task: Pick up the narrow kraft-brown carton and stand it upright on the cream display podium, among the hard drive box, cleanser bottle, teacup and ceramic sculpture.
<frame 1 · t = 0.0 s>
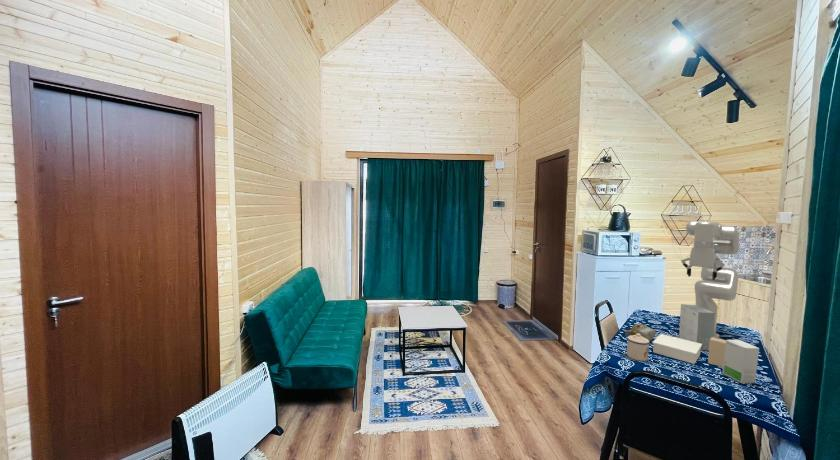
hand: (701, 277, 167), 37 cm above the table, fingers open, 9 cm apart
kraft carton: (717, 363, 149), on the table
skincare box: (739, 379, 136), on the table
display podium: (676, 353, 160), on the table
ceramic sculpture: (640, 337, 180), on the table
hard drive box: (694, 345, 171), on the table
teacup with lid: (637, 356, 156), on the table
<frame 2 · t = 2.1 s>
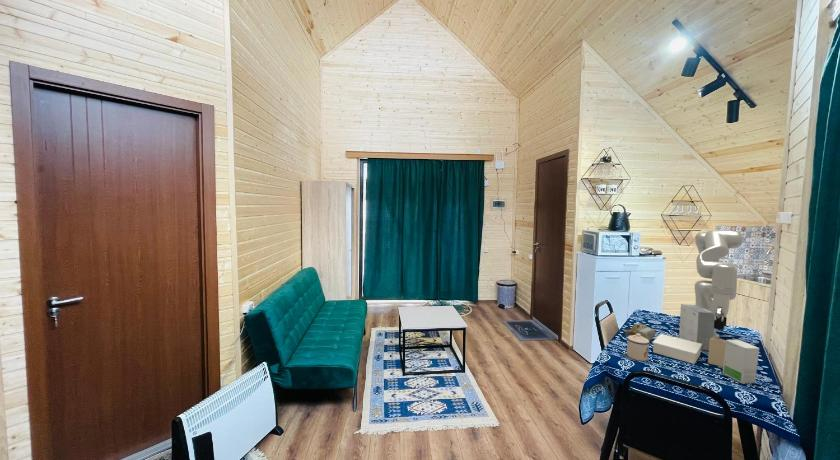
hand: (720, 327, 148), 18 cm above the table, fingers open, 9 cm apart
nothing on the table moved.
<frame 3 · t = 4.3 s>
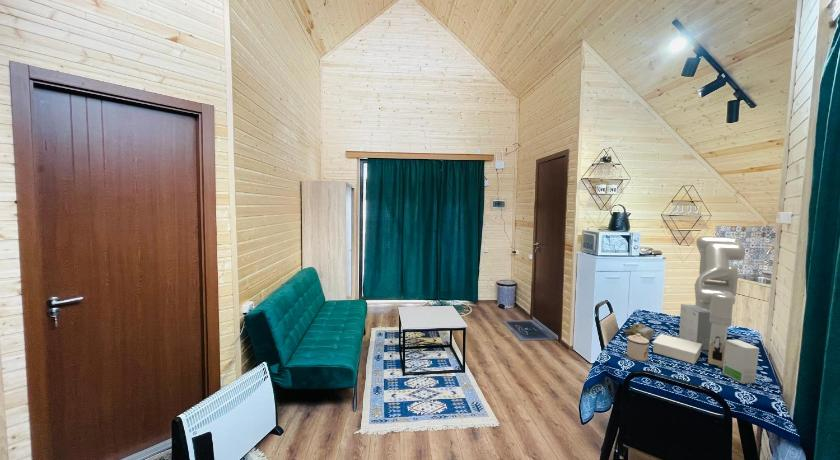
hand: (717, 357, 149), 3 cm above the table, fingers closed on kraft carton, 5 cm apart
kraft carton: (717, 363, 149), on the table, touching gripper
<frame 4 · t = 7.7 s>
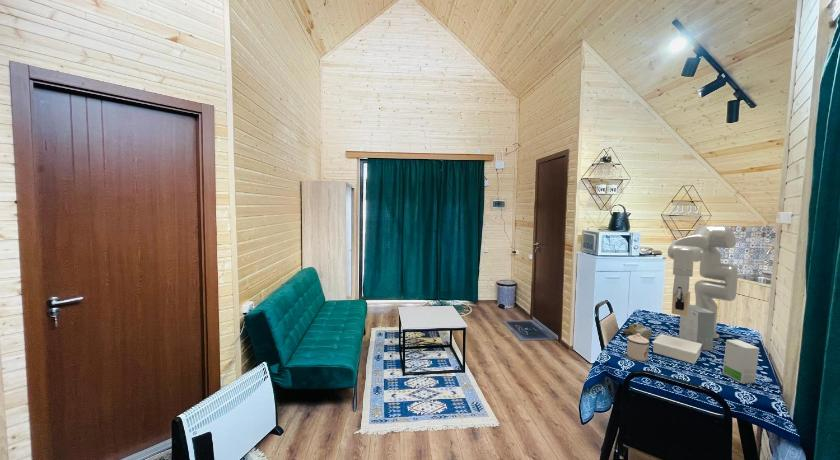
hand: (680, 308, 158), 23 cm above the table, fingers closed on kraft carton, 5 cm apart
kraft carton: (680, 313, 158), point 20 cm above the table, touching gripper
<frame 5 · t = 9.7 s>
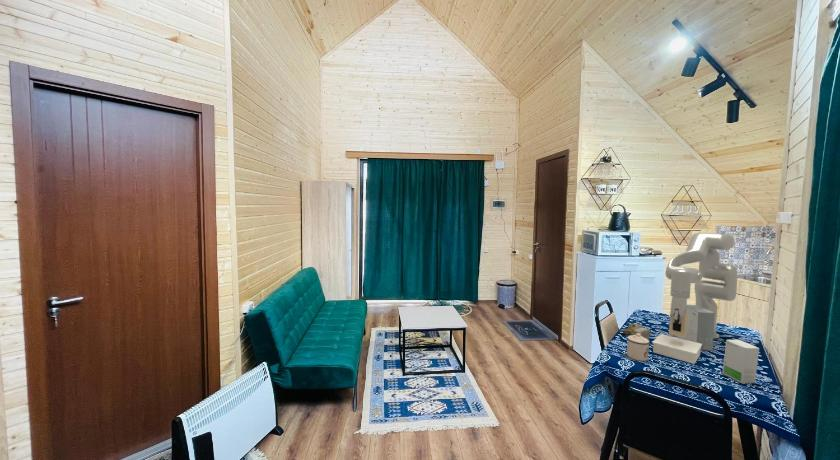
hand: (677, 329, 159), 12 cm above the table, fingers closed on kraft carton, 5 cm apart
kraft carton: (677, 334, 159), point 10 cm above the table, touching gripper
when the fingers open (9 cm above the table, at t = 11.2 s): kraft carton drops 1 cm, resting on display podium.
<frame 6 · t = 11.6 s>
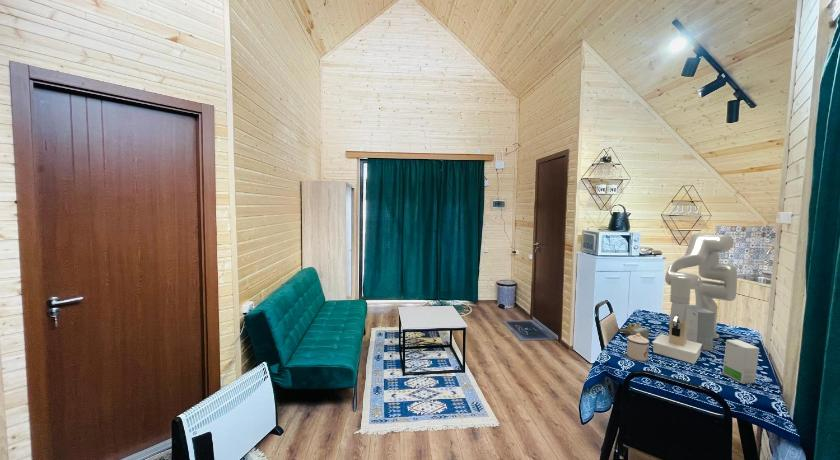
hand: (677, 333, 159), 10 cm above the table, fingers open, 9 cm apart
kraft carton: (677, 343, 159), point 5 cm above the table, touching display podium
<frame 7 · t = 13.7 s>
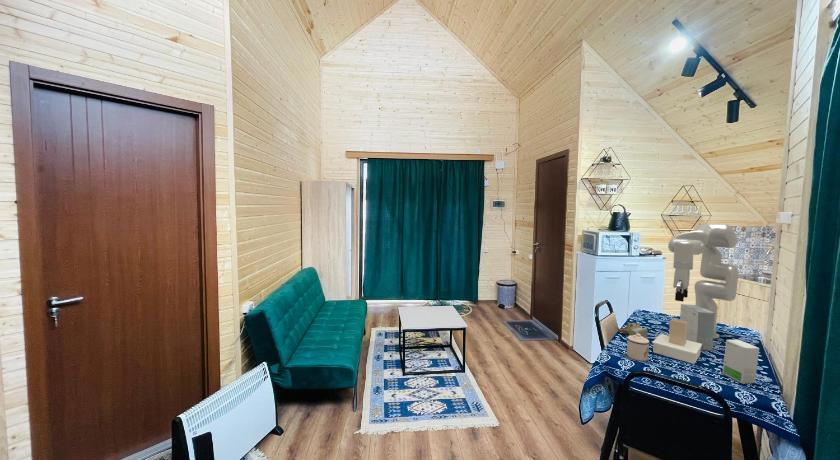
hand: (681, 298, 160), 27 cm above the table, fingers open, 9 cm apart
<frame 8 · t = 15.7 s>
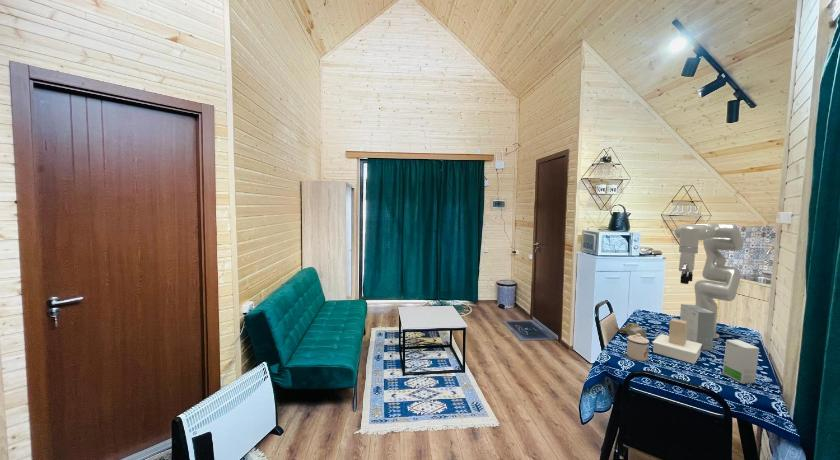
hand: (686, 282, 167), 34 cm above the table, fingers open, 9 cm apart
at the end: kraft carton inside the target area on the display podium (0.0 cm from its centre), point 5.3 cm above the display podium's base; kraft carton tilted 0°; the gripper is holding nothing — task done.
